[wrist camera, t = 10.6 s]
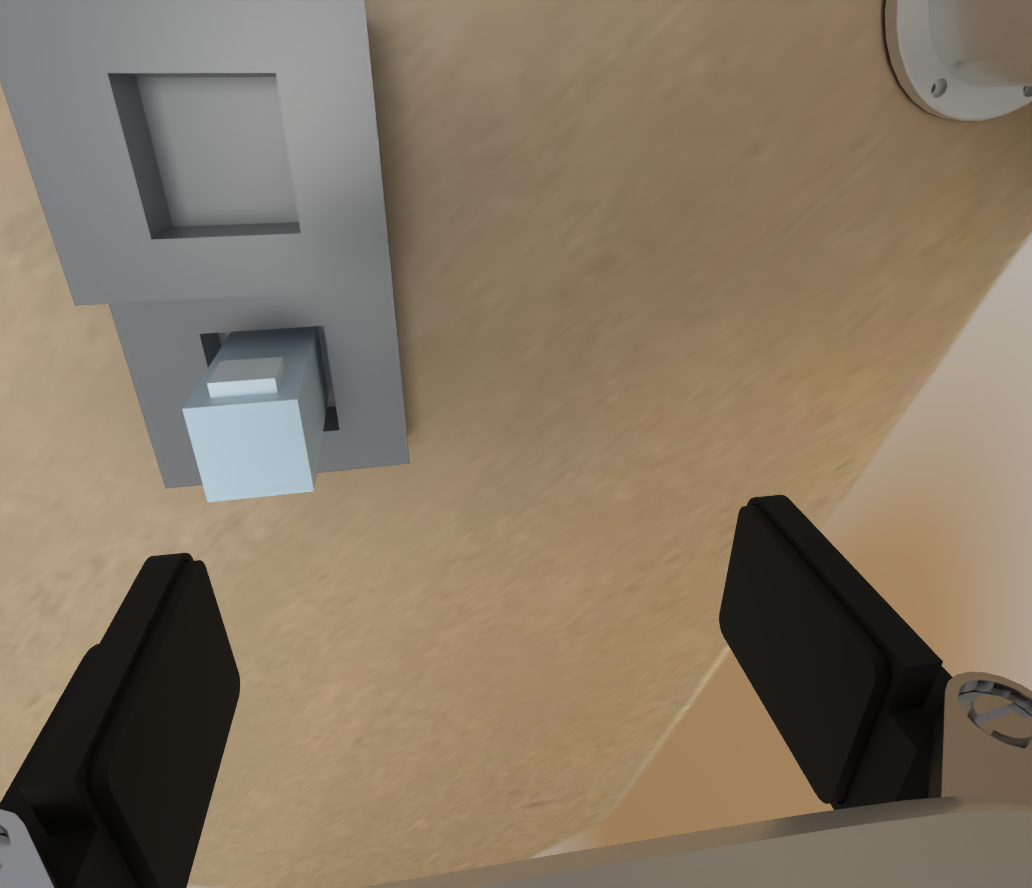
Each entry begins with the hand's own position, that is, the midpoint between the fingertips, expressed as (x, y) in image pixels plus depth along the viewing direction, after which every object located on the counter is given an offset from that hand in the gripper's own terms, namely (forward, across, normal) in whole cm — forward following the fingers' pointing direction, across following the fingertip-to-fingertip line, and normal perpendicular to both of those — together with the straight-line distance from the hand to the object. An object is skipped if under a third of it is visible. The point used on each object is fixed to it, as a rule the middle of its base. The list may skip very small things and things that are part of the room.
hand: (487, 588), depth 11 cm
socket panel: (+24, +8, 0) cm, 26 cm away
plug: (+24, +8, +4) cm, 26 cm away
